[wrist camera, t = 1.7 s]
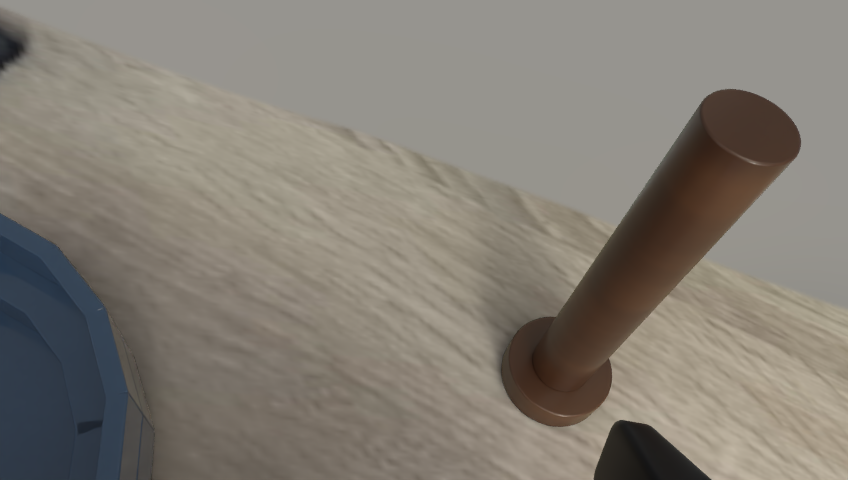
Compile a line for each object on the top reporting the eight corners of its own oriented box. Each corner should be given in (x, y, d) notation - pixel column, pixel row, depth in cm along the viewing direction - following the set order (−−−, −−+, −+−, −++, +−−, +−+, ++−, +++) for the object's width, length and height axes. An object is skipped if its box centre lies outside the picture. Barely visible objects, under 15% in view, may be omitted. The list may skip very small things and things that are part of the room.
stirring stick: (620, 401, 25) (884, 168, 13) (535, 444, 23) (747, 224, 12) (565, 316, 27) (754, 45, 15) (482, 350, 25) (622, 81, 14)
